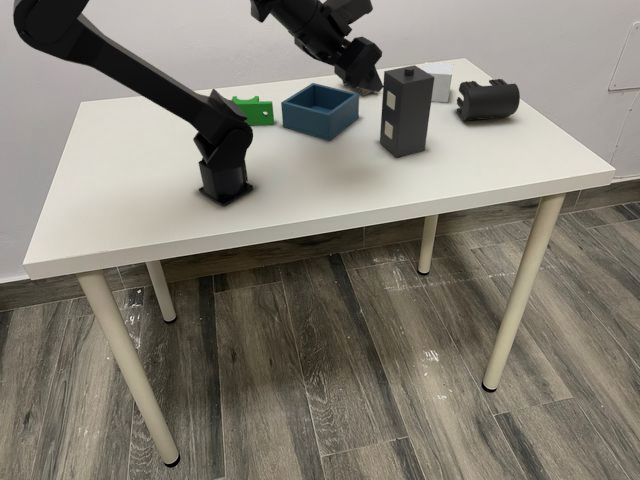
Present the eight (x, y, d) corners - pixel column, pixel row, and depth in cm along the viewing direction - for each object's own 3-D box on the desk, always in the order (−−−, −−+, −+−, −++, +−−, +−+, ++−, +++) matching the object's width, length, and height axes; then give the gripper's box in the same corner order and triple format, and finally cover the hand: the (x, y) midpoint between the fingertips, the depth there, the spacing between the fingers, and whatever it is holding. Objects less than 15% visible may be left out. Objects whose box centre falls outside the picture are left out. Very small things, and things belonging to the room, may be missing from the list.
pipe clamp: (275, 116, 98) (273, 95, 95) (273, 125, 95) (271, 103, 92) (221, 117, 98) (218, 95, 95) (218, 125, 95) (214, 103, 92)
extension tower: (395, 158, 84) (402, 77, 75) (378, 143, 88) (383, 65, 79) (424, 150, 86) (435, 71, 77) (407, 135, 90) (415, 59, 81)
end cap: (465, 127, 92) (472, 94, 88) (453, 111, 98) (458, 79, 93) (514, 123, 93) (523, 89, 89) (499, 107, 98) (507, 75, 94)
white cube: (447, 102, 101) (452, 74, 97) (419, 100, 102) (422, 72, 98) (449, 91, 105) (453, 64, 101) (421, 89, 107) (425, 62, 103)
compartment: (329, 140, 90) (329, 115, 86) (282, 126, 94) (280, 102, 91) (358, 117, 96) (359, 93, 93) (313, 105, 101) (312, 82, 98)
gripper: (374, -23, 58) (435, 55, 69) (310, -47, 71) (369, 22, 82) (317, 53, 60) (383, 117, 71) (264, 16, 73) (328, 75, 84)
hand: (366, 79), depth 77 cm, fingers open, 9 cm apart
